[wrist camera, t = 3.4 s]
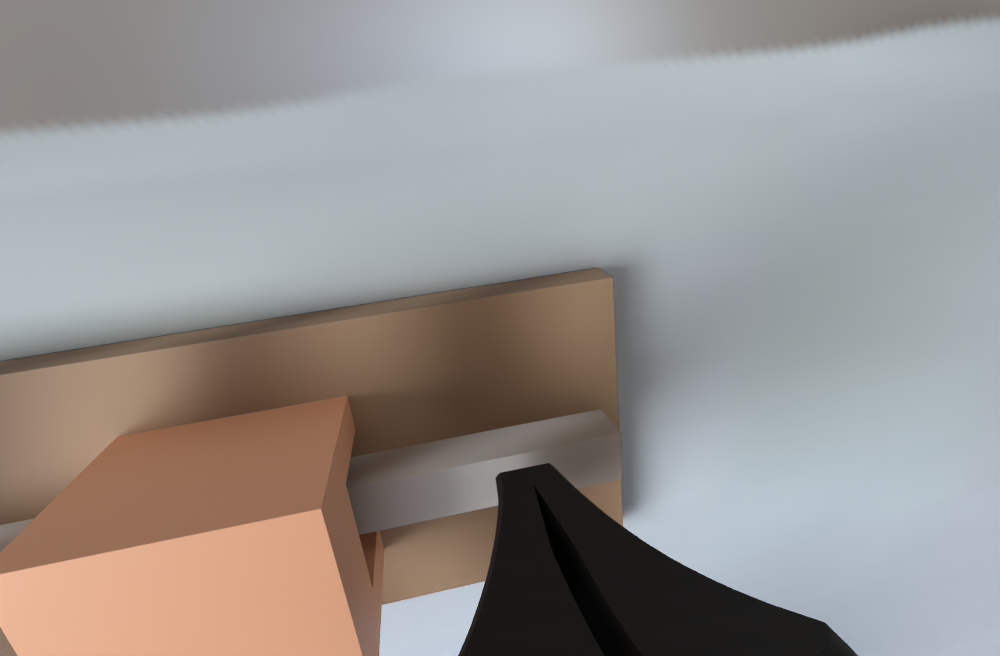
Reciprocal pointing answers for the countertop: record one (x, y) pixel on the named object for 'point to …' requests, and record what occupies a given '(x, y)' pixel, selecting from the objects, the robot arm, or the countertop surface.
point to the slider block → (203, 546)
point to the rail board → (358, 409)
